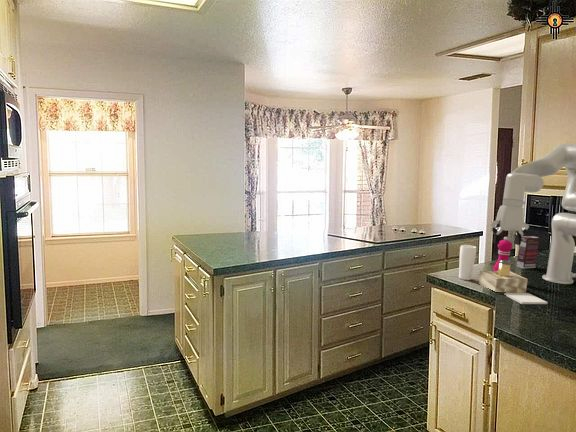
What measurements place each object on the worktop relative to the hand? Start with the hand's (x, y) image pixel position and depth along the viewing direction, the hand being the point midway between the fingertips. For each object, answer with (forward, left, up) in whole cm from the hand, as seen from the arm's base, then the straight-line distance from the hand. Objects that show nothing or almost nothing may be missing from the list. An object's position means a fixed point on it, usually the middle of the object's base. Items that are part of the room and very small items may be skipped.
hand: (506, 244), depth 197 cm
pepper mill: (-8, -13, -20) cm, 25 cm away
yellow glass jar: (0, 0, -19) cm, 19 cm away
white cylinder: (+9, -14, -20) cm, 26 cm away
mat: (-1, +14, -19) cm, 24 cm away
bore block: (0, 0, -19) cm, 19 cm away
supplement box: (-38, -37, -20) cm, 57 cm away
